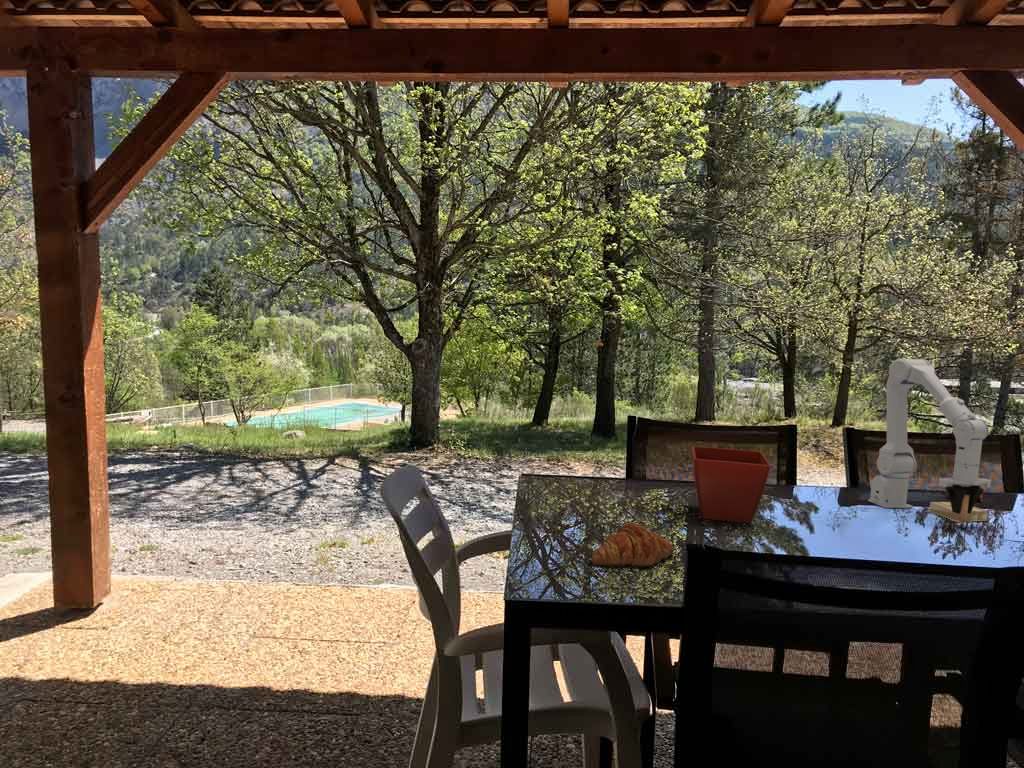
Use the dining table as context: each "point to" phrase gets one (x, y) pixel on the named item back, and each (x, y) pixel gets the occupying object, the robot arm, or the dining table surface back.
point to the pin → (963, 509)
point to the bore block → (946, 511)
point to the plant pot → (729, 482)
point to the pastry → (632, 548)
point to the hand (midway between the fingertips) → (961, 512)
